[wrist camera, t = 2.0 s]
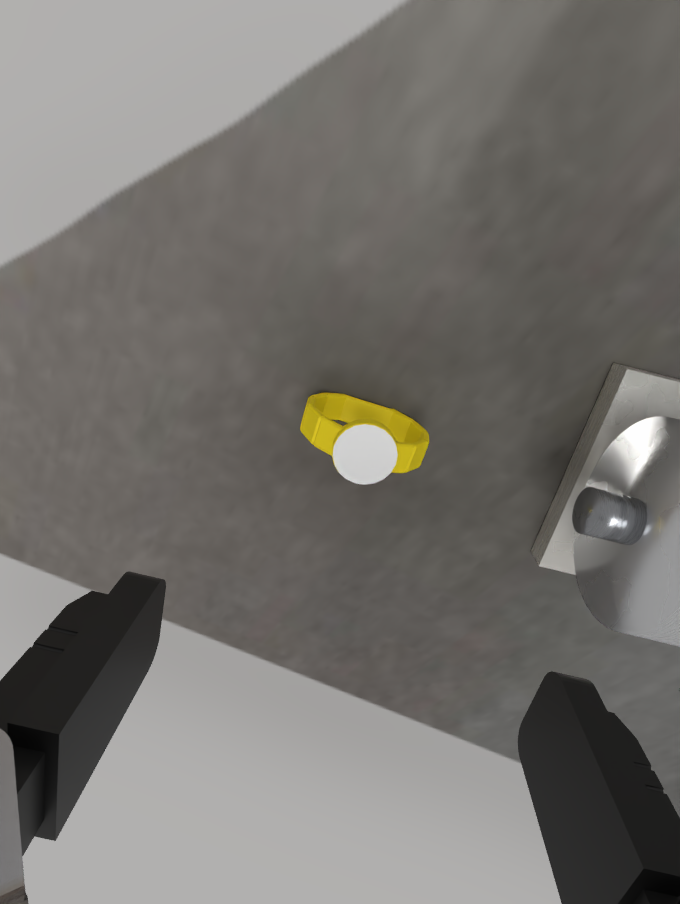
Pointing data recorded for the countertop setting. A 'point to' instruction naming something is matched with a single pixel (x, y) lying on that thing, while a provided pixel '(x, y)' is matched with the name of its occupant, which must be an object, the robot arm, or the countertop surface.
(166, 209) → the countertop surface
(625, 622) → the motor
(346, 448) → the yellow watch
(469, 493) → the countertop surface
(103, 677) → the robot arm
